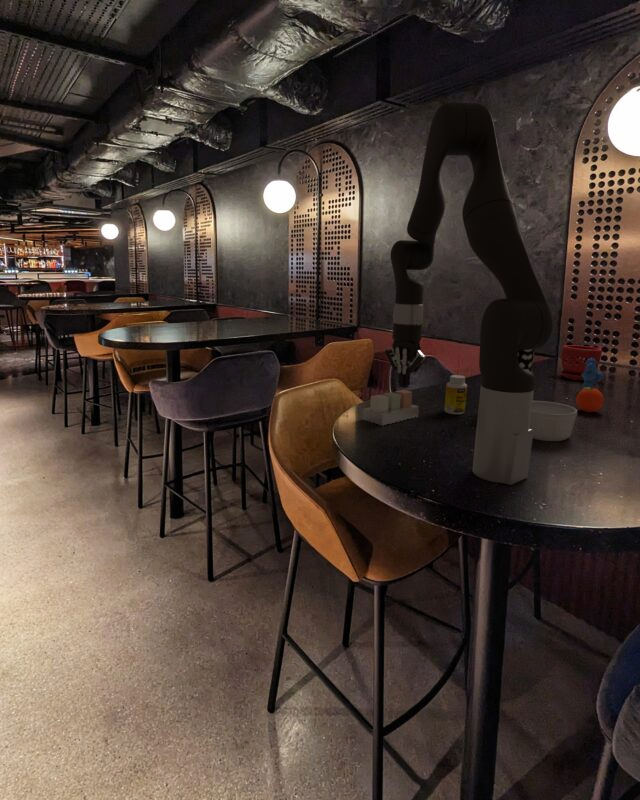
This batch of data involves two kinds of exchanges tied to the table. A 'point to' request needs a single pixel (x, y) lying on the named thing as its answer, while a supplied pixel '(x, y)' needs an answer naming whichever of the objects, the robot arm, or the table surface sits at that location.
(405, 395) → the key terracotta
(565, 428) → the ramekin
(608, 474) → the table surface
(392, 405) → the key sage
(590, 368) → the grapes
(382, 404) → the key ivory
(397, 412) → the keypad frame
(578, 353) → the plant pot
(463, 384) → the supplement bottle
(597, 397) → the clementine
